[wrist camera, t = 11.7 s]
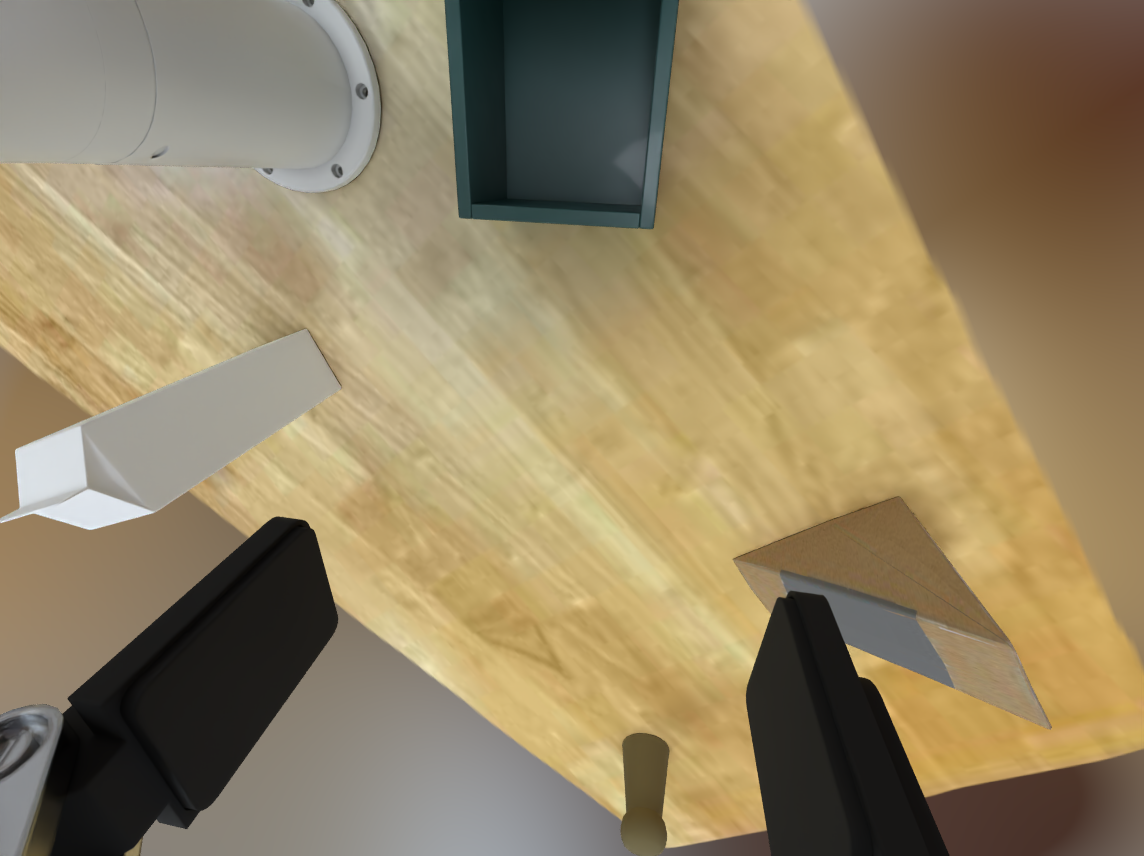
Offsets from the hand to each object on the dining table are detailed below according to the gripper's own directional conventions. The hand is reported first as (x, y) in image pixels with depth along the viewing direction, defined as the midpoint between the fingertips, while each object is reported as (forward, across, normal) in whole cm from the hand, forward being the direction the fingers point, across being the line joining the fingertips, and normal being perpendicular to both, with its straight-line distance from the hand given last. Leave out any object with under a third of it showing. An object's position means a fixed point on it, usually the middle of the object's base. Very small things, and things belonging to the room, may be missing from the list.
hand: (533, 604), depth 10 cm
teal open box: (+30, +4, -12) cm, 33 cm away
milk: (+31, +29, +9) cm, 43 cm away
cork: (+31, -8, +58) cm, 66 cm away
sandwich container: (+31, -21, +23) cm, 44 cm away
